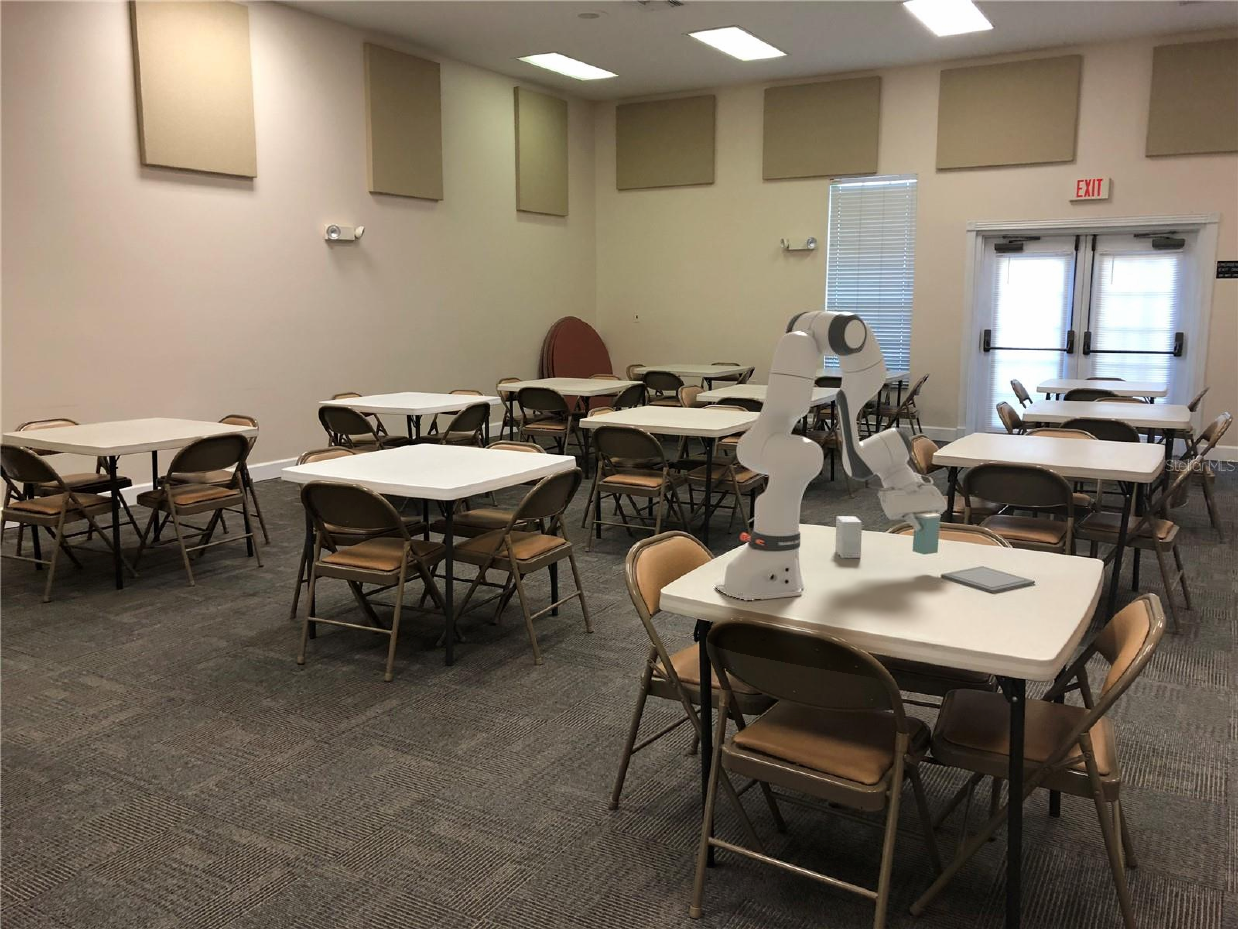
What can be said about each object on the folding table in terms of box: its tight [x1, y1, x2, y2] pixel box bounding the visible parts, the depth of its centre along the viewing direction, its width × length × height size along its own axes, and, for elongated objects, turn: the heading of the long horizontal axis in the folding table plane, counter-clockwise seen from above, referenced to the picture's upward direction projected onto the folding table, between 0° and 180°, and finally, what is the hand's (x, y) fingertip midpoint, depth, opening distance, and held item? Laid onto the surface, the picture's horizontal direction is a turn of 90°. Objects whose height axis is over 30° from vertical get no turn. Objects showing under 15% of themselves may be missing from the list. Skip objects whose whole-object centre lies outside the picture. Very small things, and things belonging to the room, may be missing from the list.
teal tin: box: [912, 512, 942, 555], centre depth 238 cm, size 5×4×10 cm
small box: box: [834, 515, 863, 559], centre depth 256 cm, size 8×6×10 cm
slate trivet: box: [940, 566, 1036, 594], centre depth 231 cm, size 16×16×1 cm
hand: (928, 528), depth 237 cm, fingers closed on teal tin, 5 cm apart
